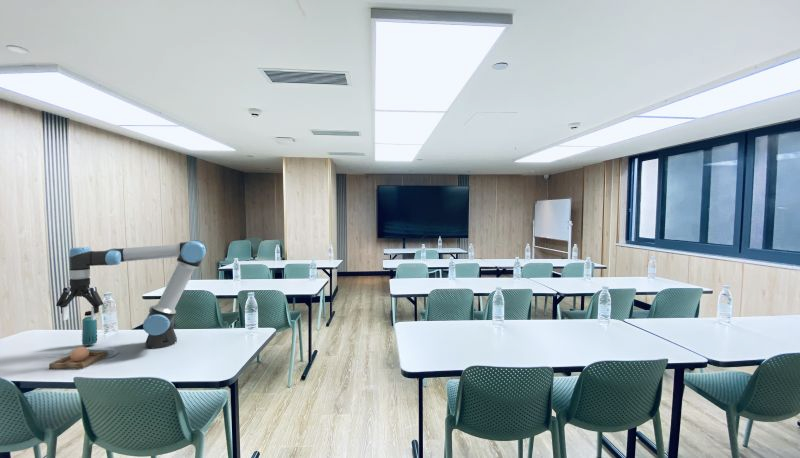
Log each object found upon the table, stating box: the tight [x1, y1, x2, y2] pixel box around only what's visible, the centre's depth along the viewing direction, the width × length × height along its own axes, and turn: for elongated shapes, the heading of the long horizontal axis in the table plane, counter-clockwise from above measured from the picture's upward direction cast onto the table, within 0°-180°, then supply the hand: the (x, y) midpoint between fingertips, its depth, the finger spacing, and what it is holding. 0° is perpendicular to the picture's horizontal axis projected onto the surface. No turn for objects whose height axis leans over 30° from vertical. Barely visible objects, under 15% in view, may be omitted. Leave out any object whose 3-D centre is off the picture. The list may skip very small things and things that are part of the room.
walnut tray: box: [48, 352, 107, 370], centre depth 168 cm, size 15×15×3 cm
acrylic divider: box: [87, 348, 119, 359], centre depth 177 cm, size 21×5×4 cm, turn 95°
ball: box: [69, 346, 89, 362], centre depth 168 cm, size 7×7×7 cm
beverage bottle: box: [81, 310, 98, 346], centre depth 190 cm, size 6×7×20 cm
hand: (80, 319), depth 168 cm, fingers open, 13 cm apart
